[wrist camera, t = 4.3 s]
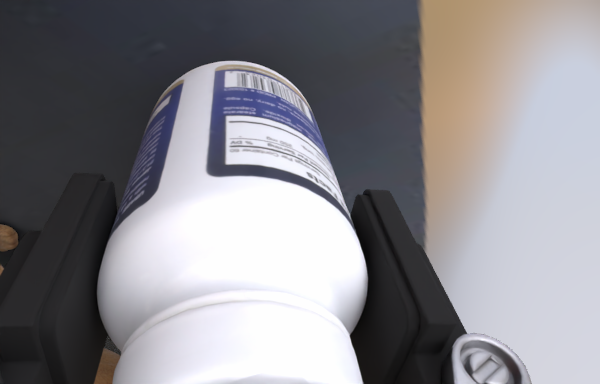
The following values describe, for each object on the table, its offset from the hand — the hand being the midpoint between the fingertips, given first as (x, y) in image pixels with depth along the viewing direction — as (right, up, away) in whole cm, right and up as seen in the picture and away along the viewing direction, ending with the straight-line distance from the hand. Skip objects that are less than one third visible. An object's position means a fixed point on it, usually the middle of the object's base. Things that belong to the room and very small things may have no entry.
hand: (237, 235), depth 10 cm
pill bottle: (-1, +3, +4) cm, 5 cm away
